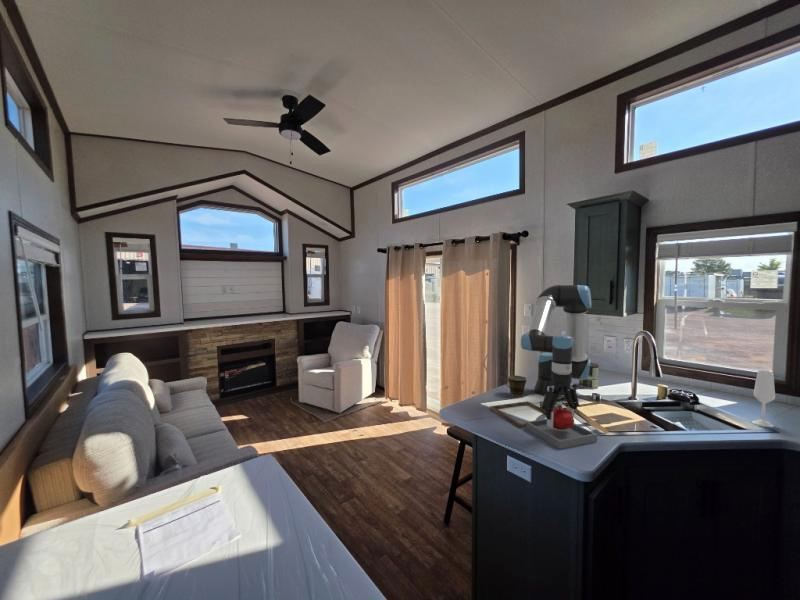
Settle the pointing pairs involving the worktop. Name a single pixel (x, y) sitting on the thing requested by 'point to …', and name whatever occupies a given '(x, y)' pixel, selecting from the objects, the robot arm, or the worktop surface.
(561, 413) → the pomegranate
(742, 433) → the worktop surface
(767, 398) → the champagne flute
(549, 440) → the tray
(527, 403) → the wooden flat square frame
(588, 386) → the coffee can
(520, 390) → the ceramic cup
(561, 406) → the button housing
